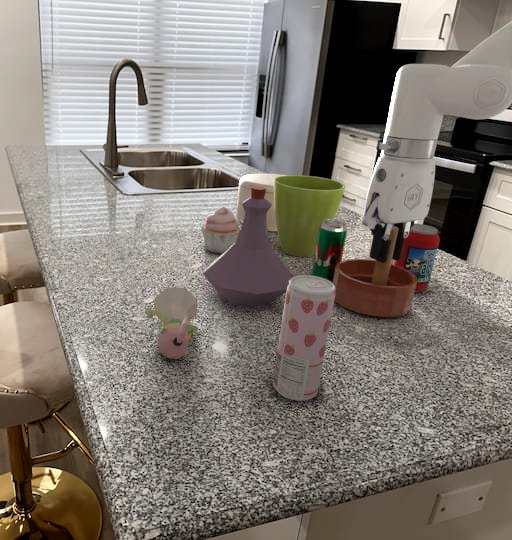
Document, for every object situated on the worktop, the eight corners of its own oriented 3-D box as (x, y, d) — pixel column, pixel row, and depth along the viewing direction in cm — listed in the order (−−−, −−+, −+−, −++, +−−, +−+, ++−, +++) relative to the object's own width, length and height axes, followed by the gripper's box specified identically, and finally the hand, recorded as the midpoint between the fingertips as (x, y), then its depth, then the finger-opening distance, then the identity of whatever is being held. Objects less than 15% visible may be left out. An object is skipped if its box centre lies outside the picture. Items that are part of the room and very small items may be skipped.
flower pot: (287, 236, 127) (296, 172, 121) (344, 253, 117) (357, 183, 111) (252, 249, 117) (260, 180, 111) (311, 268, 107) (323, 193, 101)
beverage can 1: (326, 392, 66) (347, 286, 60) (297, 407, 63) (316, 297, 57) (292, 372, 70) (308, 270, 65) (263, 385, 67) (277, 279, 62)
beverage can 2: (409, 296, 96) (424, 235, 91) (381, 282, 101) (394, 224, 97) (434, 291, 98) (450, 231, 94) (405, 278, 104) (419, 221, 99)
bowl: (393, 290, 98) (400, 261, 96) (421, 322, 86) (429, 290, 83) (323, 285, 99) (328, 256, 96) (340, 317, 87) (347, 284, 84)
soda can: (342, 281, 101) (353, 223, 96) (329, 288, 98) (340, 228, 93) (318, 274, 104) (328, 217, 100) (305, 280, 101) (315, 222, 96)
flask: (309, 298, 93) (328, 190, 86) (258, 327, 82) (274, 205, 75) (236, 272, 104) (246, 173, 96) (182, 294, 93) (189, 185, 85)
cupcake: (206, 257, 111) (209, 212, 107) (194, 243, 119) (196, 201, 116) (246, 255, 113) (251, 211, 109) (231, 242, 121) (236, 200, 118)
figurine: (142, 307, 83) (134, 360, 70) (160, 269, 80) (155, 318, 67) (190, 326, 84) (191, 383, 71) (210, 290, 81) (215, 342, 68)
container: (300, 216, 144) (306, 175, 140) (306, 236, 128) (314, 189, 123) (236, 211, 147) (240, 170, 143) (234, 229, 130) (238, 184, 126)
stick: (380, 296, 91) (395, 225, 86) (385, 301, 89) (401, 230, 84) (366, 295, 91) (381, 224, 86) (370, 300, 89) (385, 229, 84)
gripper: (390, 155, 74) (366, 273, 81) (464, 150, 80) (436, 260, 87) (351, 147, 80) (332, 257, 87) (423, 143, 86) (399, 246, 93)
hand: (384, 258), depth 87 cm, fingers closed on stick, 2 cm apart
